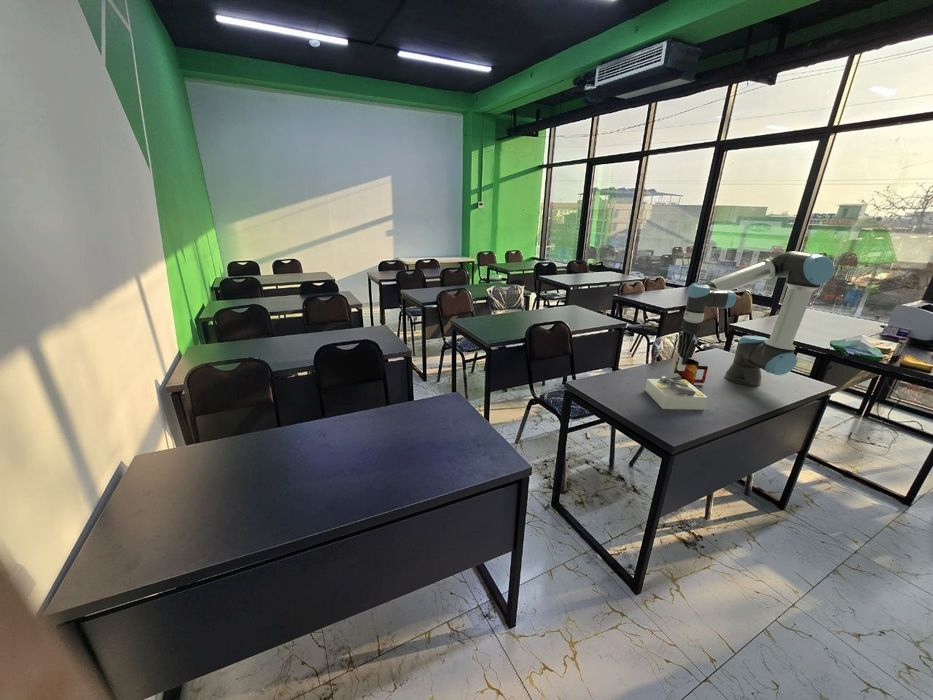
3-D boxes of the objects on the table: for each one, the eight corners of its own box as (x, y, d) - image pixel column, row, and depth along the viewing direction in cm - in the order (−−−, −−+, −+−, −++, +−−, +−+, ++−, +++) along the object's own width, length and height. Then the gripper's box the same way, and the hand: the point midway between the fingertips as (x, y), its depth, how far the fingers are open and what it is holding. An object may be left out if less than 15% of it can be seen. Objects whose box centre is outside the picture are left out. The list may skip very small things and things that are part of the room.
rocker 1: (676, 376, 184) (676, 372, 183) (681, 379, 180) (681, 376, 180) (659, 379, 185) (659, 375, 184) (663, 383, 181) (663, 379, 180)
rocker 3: (689, 391, 173) (690, 387, 173) (693, 395, 170) (696, 391, 169) (672, 387, 173) (674, 383, 172) (676, 391, 169) (678, 387, 168)
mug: (704, 385, 194) (710, 362, 190) (683, 389, 190) (688, 366, 186) (687, 377, 203) (692, 355, 199) (667, 381, 198) (672, 359, 194)
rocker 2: (681, 385, 179) (683, 381, 178) (686, 389, 175) (688, 385, 175) (665, 381, 178) (667, 377, 178) (670, 385, 175) (671, 381, 174)
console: (682, 390, 188) (685, 378, 185) (704, 409, 171) (707, 395, 169) (645, 390, 188) (647, 377, 185) (663, 409, 171) (666, 395, 168)
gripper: (676, 316, 178) (665, 364, 187) (692, 324, 166) (679, 375, 175) (692, 316, 179) (681, 364, 187) (709, 325, 166) (696, 376, 175)
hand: (680, 370), depth 181 cm, fingers closed
